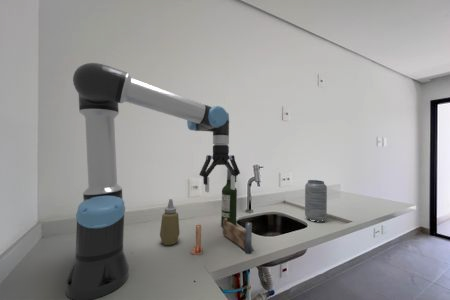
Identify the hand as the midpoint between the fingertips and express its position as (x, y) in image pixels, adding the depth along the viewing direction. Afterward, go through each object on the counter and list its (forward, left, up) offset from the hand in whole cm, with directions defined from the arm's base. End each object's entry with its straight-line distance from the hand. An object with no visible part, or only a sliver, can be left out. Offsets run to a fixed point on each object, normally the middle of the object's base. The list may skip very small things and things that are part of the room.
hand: (220, 190), depth 91 cm
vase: (+22, -57, -21) cm, 65 cm away
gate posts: (-14, -1, -21) cm, 25 cm away
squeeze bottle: (-8, +21, -21) cm, 31 cm away
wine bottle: (+11, -5, -21) cm, 24 cm away
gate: (-7, -6, -20) cm, 22 cm away
